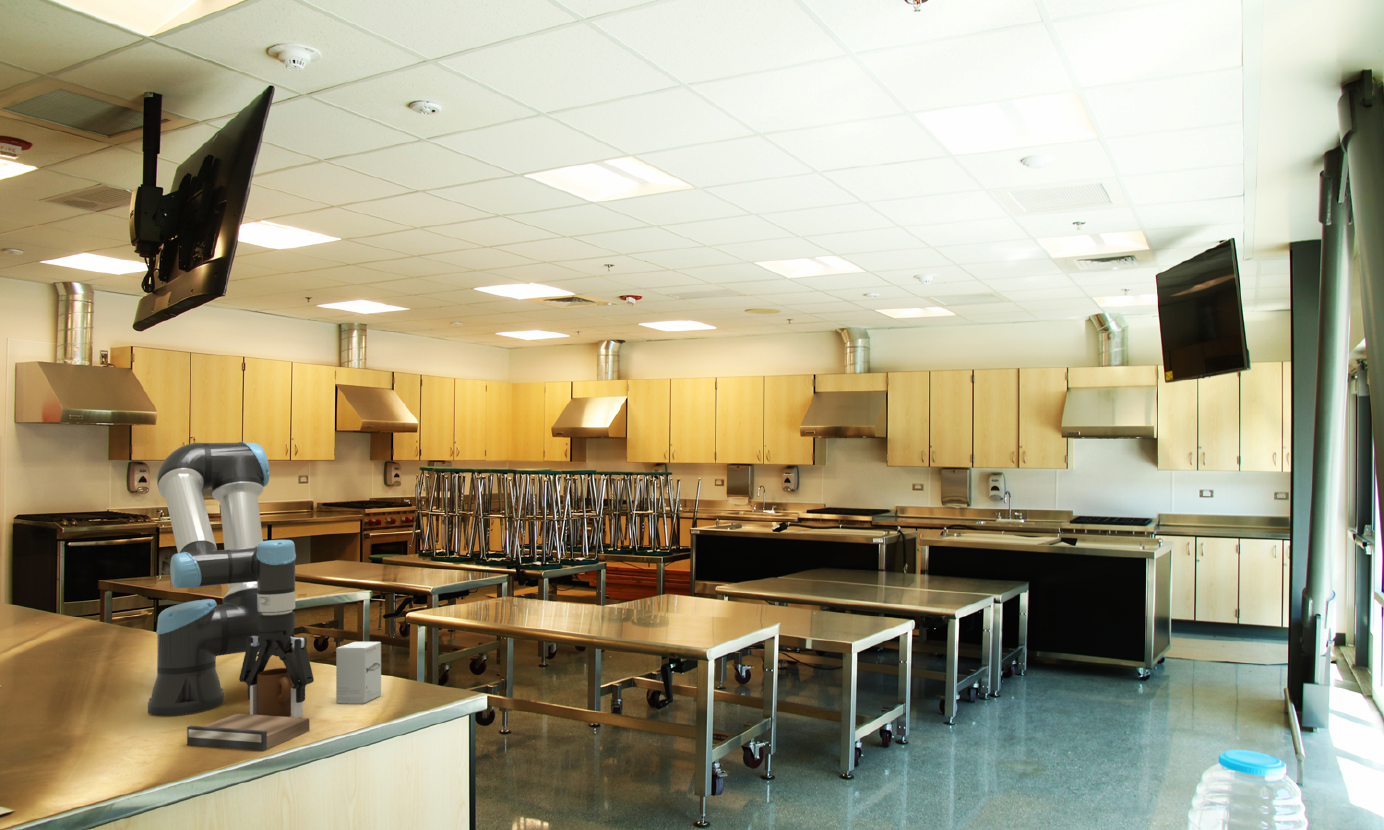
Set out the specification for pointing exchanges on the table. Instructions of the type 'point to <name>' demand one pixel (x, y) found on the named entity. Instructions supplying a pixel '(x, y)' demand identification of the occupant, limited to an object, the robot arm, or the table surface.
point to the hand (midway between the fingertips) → (276, 716)
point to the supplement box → (358, 672)
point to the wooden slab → (247, 732)
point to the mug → (274, 692)
